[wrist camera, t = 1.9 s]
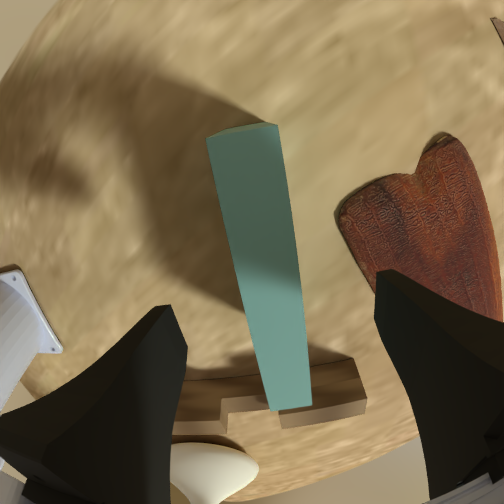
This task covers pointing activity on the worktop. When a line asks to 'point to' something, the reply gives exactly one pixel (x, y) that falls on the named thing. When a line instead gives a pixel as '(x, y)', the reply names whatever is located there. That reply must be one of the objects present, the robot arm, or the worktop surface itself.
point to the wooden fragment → (499, 27)
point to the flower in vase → (210, 471)
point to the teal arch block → (264, 255)
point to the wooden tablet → (430, 229)
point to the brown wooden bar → (254, 398)
